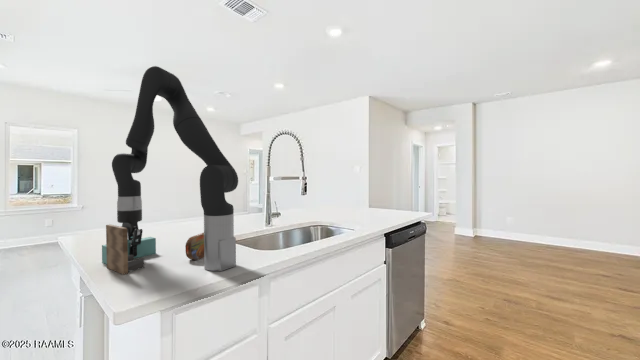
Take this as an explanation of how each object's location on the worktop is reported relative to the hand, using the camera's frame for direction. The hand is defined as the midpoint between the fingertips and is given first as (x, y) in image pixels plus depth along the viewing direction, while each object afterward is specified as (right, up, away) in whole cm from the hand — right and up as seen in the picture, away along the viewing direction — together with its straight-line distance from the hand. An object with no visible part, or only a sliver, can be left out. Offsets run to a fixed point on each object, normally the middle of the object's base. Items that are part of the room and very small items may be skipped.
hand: (130, 255), depth 104 cm
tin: (+25, -1, +2) cm, 25 cm away
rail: (0, -1, 0) cm, 1 cm away
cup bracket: (+7, -1, -12) cm, 14 cm away
